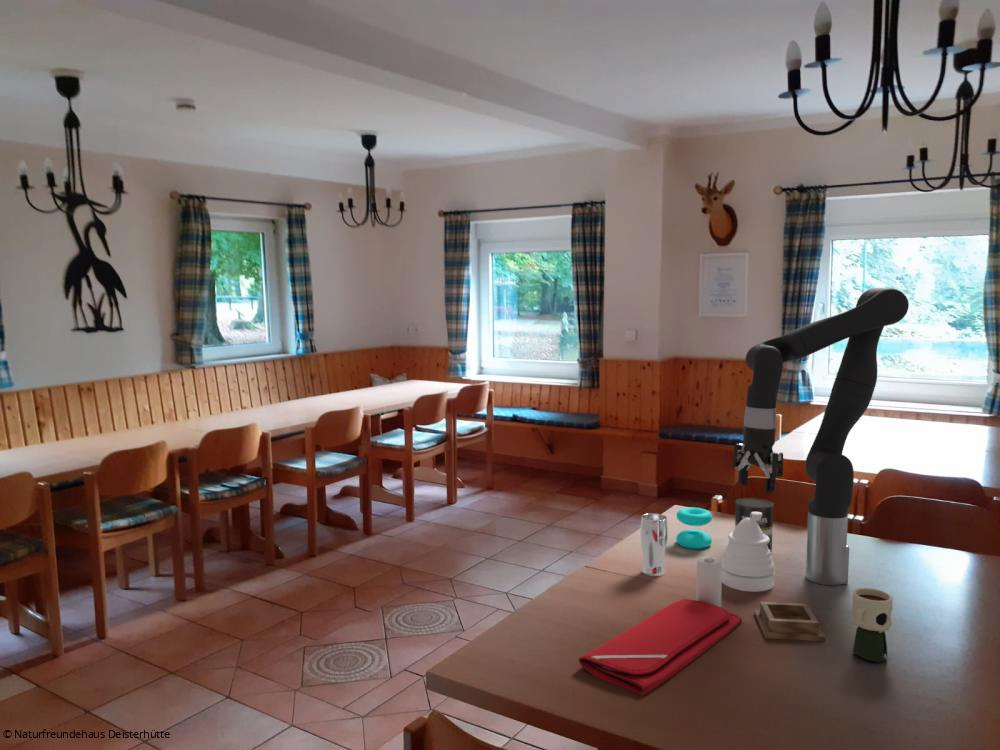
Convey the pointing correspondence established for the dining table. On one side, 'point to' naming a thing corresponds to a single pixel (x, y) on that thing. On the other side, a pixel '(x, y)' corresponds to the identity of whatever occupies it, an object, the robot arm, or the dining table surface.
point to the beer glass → (653, 543)
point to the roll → (709, 580)
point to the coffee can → (756, 505)
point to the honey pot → (748, 558)
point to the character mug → (871, 622)
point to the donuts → (694, 537)
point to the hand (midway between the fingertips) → (755, 488)
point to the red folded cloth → (660, 645)
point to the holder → (788, 621)
